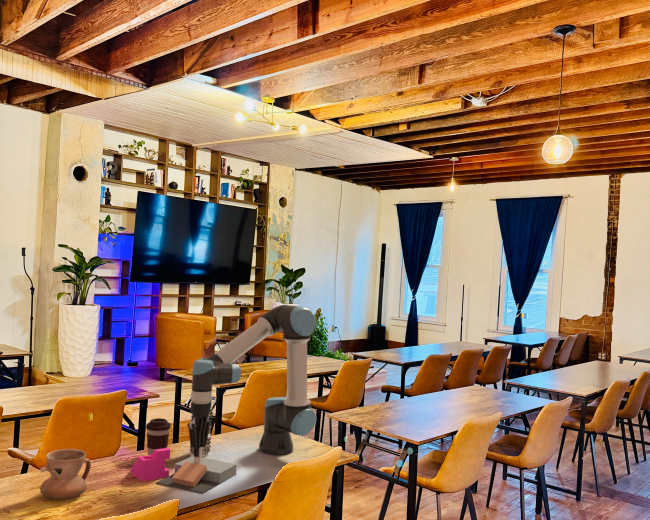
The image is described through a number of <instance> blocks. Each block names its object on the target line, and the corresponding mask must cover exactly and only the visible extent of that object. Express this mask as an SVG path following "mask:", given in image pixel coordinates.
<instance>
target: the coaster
mask: <svg viewBox="0 0 650 520" xmlns="http://www.w3.org/2000/svg"><path fill="white" fill-rule="evenodd" d="M206 472H207V466H206V465H202V464H197V463H192V462H187V461H186V462H185V463H184V464H183V465H182V467H181V468H180V469H179V470H178V471H177V472H176V474H175V475H174V476H173V477H172V480H173V483H176V484H181V485H185V486H190V487H195V486H196V484H197V483H198V482H199V481H200V479H201V478H202V477H203V476H204V474H205V473H206Z"/></svg>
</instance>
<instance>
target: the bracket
mask: <svg viewBox="0 0 650 520" xmlns="http://www.w3.org/2000/svg"><path fill="white" fill-rule="evenodd" d="M170 459H171V448H168V447H167V448H163V449H157V450H154V452H153V453H152V455H148V454H147V455H141V456H138V457H137V458H136V460H135V462H133V465H132V467H131V469H130V473H131V474H133V475H134V476H135V477H136V476H137V477H138V480H140V481H141V482H146V481H152V480H153V481H154V480H158V478H159V479H164V478H163V477H165V478H166V477H168V476H170V470H169V469H168V468H167V467H166V460H170ZM137 477H136V478H137Z"/></svg>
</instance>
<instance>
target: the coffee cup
mask: <svg viewBox="0 0 650 520" xmlns="http://www.w3.org/2000/svg"><path fill="white" fill-rule="evenodd" d="M171 428H172V423H170V422H169V421H168V419H166V418H160V417H159V418H152V419H150V421H149V422H147V423H146V424H145V429H146V430H147V431H146V447H147V455H152V453H153V452H154V450H157V449H163V448H168V447H169V445H168V444H169V438H170V437H169V436H170V429H171Z"/></svg>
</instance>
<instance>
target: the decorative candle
mask: <svg viewBox="0 0 650 520" xmlns="http://www.w3.org/2000/svg"><path fill="white" fill-rule="evenodd" d="M212 401H213V397H212V400H211V401H210V402H211V412H210V413H208V417H211V418H212V420H211V423H210V428H209V433H208V439H207V443H206V444H204V445H206V447H203V454H202V458H206V457H209V456H210V455H211V448H212V447H211V446H212V445H210V444H212V443H211V440H212V437H211V428H212V426H213V424H212V423H213V417H214V416H213V414H214V412H213V411H212V410H213V405H212V403H213V402H212ZM190 413H191V414H192V415H191V416H190V421H191V422H192V417H193V413H192V412H191V411H190ZM191 422H190V423H191ZM189 448H190V449H189V455H190V457H191V456H194V448H193V447H190V446H189ZM208 455H209V456H208ZM205 456H206V457H205Z"/></svg>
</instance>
